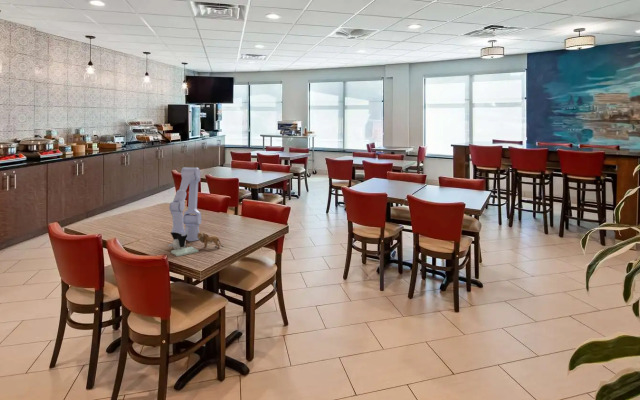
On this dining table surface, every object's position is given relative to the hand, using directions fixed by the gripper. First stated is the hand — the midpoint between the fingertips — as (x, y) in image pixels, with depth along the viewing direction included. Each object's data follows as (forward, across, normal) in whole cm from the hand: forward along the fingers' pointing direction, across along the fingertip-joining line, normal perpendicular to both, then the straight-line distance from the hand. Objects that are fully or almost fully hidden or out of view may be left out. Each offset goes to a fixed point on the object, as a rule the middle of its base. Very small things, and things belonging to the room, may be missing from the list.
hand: (179, 245), depth 228 cm
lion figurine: (+2, +11, +13) cm, 17 cm away
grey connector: (+1, 0, -1) cm, 2 cm away
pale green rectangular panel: (+1, +10, -1) cm, 10 cm away
